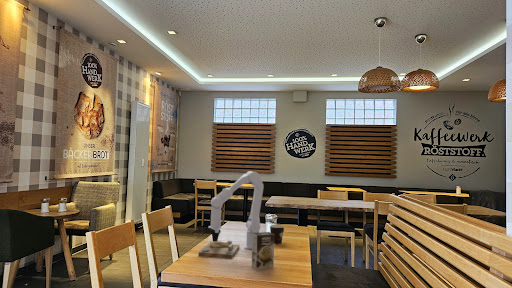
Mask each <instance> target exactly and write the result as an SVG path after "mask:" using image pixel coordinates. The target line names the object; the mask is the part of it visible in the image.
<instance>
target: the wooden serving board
mask: <svg viewBox="0 0 512 288" xmlns="http://www.w3.org/2000/svg"><path fill="white" fill-rule="evenodd" d="M239 250H240V244H234V243H232V244H230V245H229V246H226V247H210V242H208V243H207V244H206V245H205V246H204V247H203V248H201V249H200V250H199V251H198V257H205V258H220V259H234V257H235V255H236V254H237V253H238V251H239Z"/></svg>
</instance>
